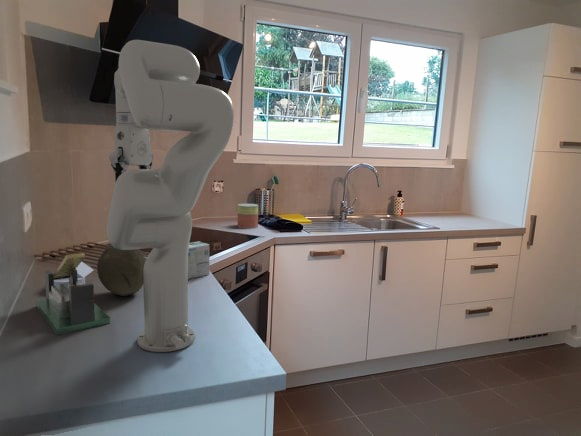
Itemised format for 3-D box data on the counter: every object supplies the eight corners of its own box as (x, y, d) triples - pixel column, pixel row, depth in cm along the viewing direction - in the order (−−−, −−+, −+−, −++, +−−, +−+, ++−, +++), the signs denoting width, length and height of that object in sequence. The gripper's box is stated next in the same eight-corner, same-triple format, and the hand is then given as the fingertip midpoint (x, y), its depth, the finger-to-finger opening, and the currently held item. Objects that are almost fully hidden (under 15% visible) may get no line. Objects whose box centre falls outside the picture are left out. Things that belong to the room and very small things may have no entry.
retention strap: (85, 257, 108) (84, 251, 108) (67, 260, 105) (66, 253, 106) (69, 278, 122) (68, 272, 122) (53, 280, 119) (52, 275, 120)
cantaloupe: (157, 289, 136) (156, 241, 134) (132, 305, 123) (131, 252, 120) (115, 284, 139) (113, 237, 137) (86, 300, 125) (84, 248, 123)
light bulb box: (199, 270, 158) (199, 240, 156) (210, 274, 153) (210, 244, 152) (172, 275, 151) (172, 244, 149) (182, 280, 146) (182, 248, 144)
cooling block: (110, 323, 110) (108, 282, 109) (56, 335, 103) (54, 291, 101) (83, 298, 127) (82, 262, 125) (36, 306, 119) (34, 268, 117)
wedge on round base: (65, 279, 143) (46, 293, 130) (64, 259, 142) (45, 270, 129) (94, 279, 143) (78, 293, 131) (93, 259, 142) (77, 271, 129)
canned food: (262, 227, 244) (262, 205, 242) (247, 229, 236) (247, 207, 234) (248, 224, 252) (248, 203, 250) (232, 226, 243) (233, 204, 241)
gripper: (123, 119, 106) (125, 190, 108) (163, 123, 122) (163, 185, 125) (96, 118, 108) (99, 189, 110) (139, 122, 124) (140, 184, 127)
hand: (133, 187), depth 118 cm, fingers open, 9 cm apart
